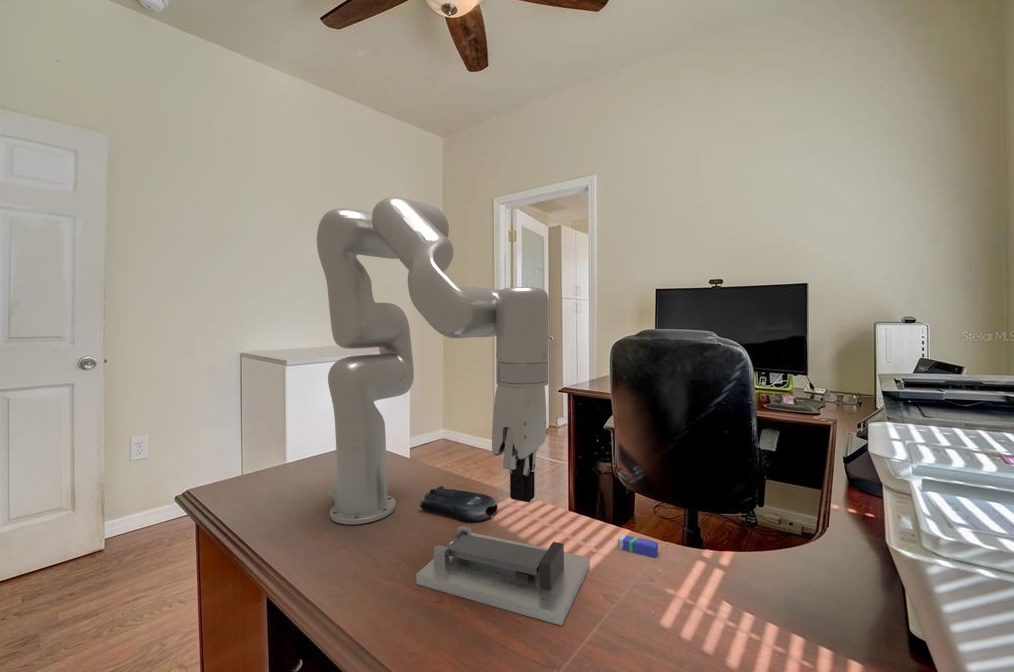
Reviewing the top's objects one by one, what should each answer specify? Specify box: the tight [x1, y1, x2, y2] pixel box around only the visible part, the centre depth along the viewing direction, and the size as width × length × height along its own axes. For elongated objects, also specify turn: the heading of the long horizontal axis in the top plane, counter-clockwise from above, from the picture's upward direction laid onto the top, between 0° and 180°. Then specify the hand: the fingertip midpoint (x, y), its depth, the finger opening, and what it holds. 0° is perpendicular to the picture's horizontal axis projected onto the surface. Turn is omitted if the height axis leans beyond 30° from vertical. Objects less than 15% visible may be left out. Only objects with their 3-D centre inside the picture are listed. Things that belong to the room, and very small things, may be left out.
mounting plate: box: [415, 525, 591, 626], centre depth 65 cm, size 22×14×5 cm, turn 65°
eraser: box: [617, 534, 659, 558], centre depth 71 cm, size 2×6×2 cm, turn 60°
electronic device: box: [419, 485, 498, 522], centre depth 88 cm, size 9×6×15 cm
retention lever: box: [443, 533, 547, 576], centre depth 66 cm, size 16×5×1 cm, turn 65°
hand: (522, 498), depth 63 cm, fingers closed
